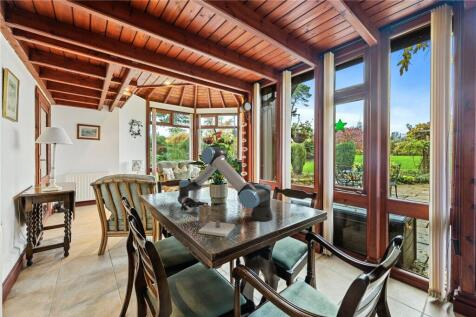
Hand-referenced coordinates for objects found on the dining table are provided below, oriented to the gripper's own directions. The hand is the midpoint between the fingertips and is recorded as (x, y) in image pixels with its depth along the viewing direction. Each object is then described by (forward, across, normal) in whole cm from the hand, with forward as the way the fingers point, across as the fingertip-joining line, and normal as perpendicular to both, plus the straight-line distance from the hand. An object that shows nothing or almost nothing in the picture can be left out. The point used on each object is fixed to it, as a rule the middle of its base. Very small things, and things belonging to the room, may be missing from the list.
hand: (199, 208), depth 144 cm
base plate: (+26, 0, -6) cm, 27 cm away
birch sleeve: (+9, 0, -6) cm, 11 cm away
